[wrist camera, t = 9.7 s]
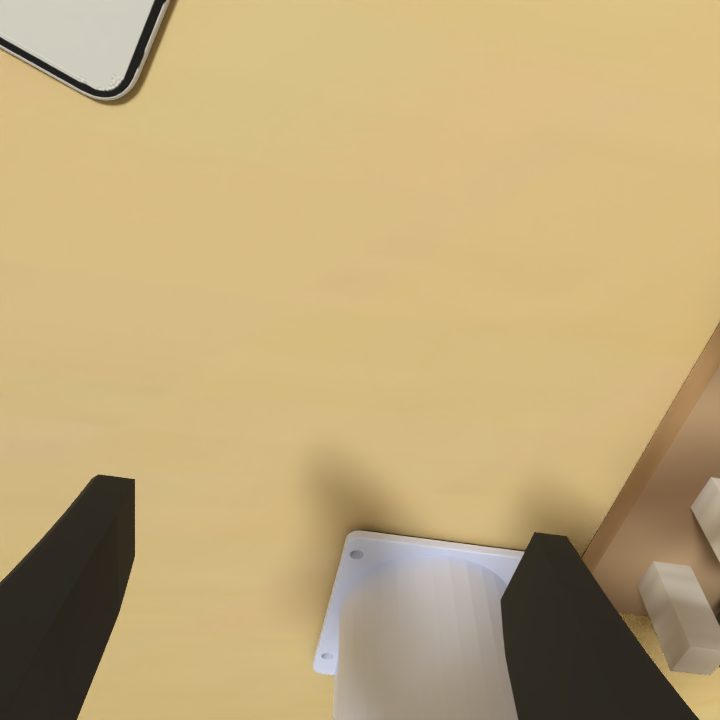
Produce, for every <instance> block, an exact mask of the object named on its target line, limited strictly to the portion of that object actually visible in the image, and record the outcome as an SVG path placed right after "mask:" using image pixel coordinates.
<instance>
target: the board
mask: <svg viewBox="0 0 720 720" xmlns="http://www.w3.org/2000/svg"><path fill="white" fill-rule="evenodd" d="M582 560H583V562H584V563H585V565H586V566H587V568H588V569H589V571H590V572H591V574H592V575H593V577H594V578H595V580H596V581H597V583H598V584H599V586H600V587H601V588H602V590H603V591H604V593H605V594H606V596H607V597H608V599H609V600H610V602H611V603H612V605H613V606H614V608H615V609H616V610H617V612H622V613H630V614H638V615H647V616H649V617H650V620H651V622H652V625H653V628H654V630H655V633H656V635H657V638H658V640H659V643H660V645H661V648H662V650H663V653H664V655H665V658H666V660H667V663H668V665H669V668H670V670H671V671H676V672H685V673H694V674H703V675H711V674H712V673H713V672H714V671H715V670H716V669H717V668H718V667H719V665H720V626H719V624H718V622H717V620H716V618H715V617H716V615H717V614H718V613H719V612H720V323H719V325H718V327H717V328H716V330H715V332H714V333H713V335H712V337H711V339H710V340H709V342H708V344H707V345H706V347H705V349H704V350H703V352H702V354H701V356H700V357H699V359H698V361H697V362H696V364H695V366H694V368H693V369H692V371H691V373H690V374H689V376H688V378H687V379H686V381H685V383H684V385H683V386H682V388H681V390H680V391H679V393H678V395H677V397H676V398H675V400H674V402H673V403H672V405H671V407H670V408H669V410H668V412H667V414H666V415H665V417H664V419H663V420H662V422H661V424H660V426H659V427H658V429H657V431H656V432H655V434H654V436H653V437H652V439H651V441H650V443H649V444H648V446H647V448H646V449H645V451H644V453H643V455H642V456H641V458H640V460H639V461H638V463H637V465H636V466H635V468H634V470H633V472H632V473H631V475H630V477H629V478H628V480H627V482H626V484H625V485H624V487H623V489H622V490H621V492H620V494H619V495H618V497H617V499H616V501H615V502H614V504H613V506H612V507H611V509H610V511H609V513H608V514H607V516H606V518H605V519H604V521H603V523H602V524H601V526H600V528H599V530H598V531H597V533H596V535H595V536H594V538H593V540H592V542H591V543H590V545H589V547H588V548H587V550H586V552H585V553H584V555H583V557H582Z"/></svg>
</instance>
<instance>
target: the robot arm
mask: <svg viewBox="0 0 720 720" xmlns="http://www.w3.org/2000/svg"><path fill="white" fill-rule="evenodd" d="M357 550H358V551H357ZM134 557H135V479H129V478H121V477H114V476H106V475H97V476H95V477H94V478H92V479H91V480H90V482H89V483H88V484H87V486H86V487H85V488H84V490H83V491H82V492H81V493H80V495H79V496H78V497H77V498H76V499H75V501H74V502H73V503H72V504H71V506H70V507H69V508H68V509H67V510H66V512H65V513H64V514H63V515H62V516H61V517H60V519H59V520H58V521H57V522H56V523H55V524H54V525H53V527H52V528H51V529H50V530H49V531H48V532H47V533H46V535H45V536H44V537H43V538H42V539H41V540H40V541H39V542H38V543H37V544H36V545H35V547H34V548H33V549H32V550H31V551H30V552H29V553H28V554H27V555H26V556H25V557H24V558H23V559H22V560H21V562H20V563H19V564H18V565H17V566H16V567H15V568H14V569H13V570H12V571H11V572H10V573H9V574H8V575H7V576H6V577H5V578H4V579H3V580H2V581H1V582H0V720H77V718H78V715H79V713H80V710H81V708H82V705H83V703H84V700H85V698H86V695H87V693H88V690H89V688H90V685H91V683H92V680H93V678H94V675H95V673H96V670H97V668H98V665H99V663H100V660H101V658H102V655H103V653H104V650H105V647H106V645H107V642H108V640H109V637H110V635H111V632H112V630H113V627H114V625H115V622H116V619H117V617H118V614H119V611H120V608H121V604H122V601H123V597H124V594H125V590H126V587H127V583H128V579H129V576H130V572H131V568H132V564H133V561H134ZM313 669H314V670H315V671H316V672H317V673H320V674H328V675H334V704H333V720H699V719H698V718H697V716H696V715H695V714H694V713H693V712H692V710H691V709H690V708H689V707H688V705H687V704H686V703H685V702H684V700H683V699H682V698H681V697H680V695H679V694H678V693H677V692H676V690H675V689H674V688H673V686H672V685H671V684H670V683H669V681H668V680H667V679H666V678H665V676H664V675H663V674H662V673H661V671H660V670H659V669H658V667H657V666H656V665H655V663H654V662H653V661H652V659H651V658H650V657H649V655H648V654H647V653H646V651H645V650H644V648H643V647H642V646H641V644H640V643H639V641H638V640H637V639H636V637H635V636H634V634H633V633H632V632H631V630H630V629H629V628H628V626H627V625H626V623H625V622H624V620H623V619H622V618H621V616H620V615H619V613H618V612H617V610H616V609H615V608H614V606H613V605H612V603H611V602H610V600H609V599H608V597H607V596H606V594H605V593H604V591H603V590H602V588H601V587H600V586H599V584H598V583H597V581H596V580H595V578H594V577H593V575H592V574H591V572H590V571H589V569H588V568H587V566H586V565H585V563H584V562H583V560H582V559H581V557H580V556H579V554H578V553H577V551H576V550H575V548H574V547H573V545H572V544H571V543H570V541H569V540H568V538H567V537H566V536H559V535H551V534H544V533H536V532H535V533H534V535H533V537H532V539H531V541H530V543H529V545H528V547H527V549H526V550H525V552H524V551H516V550H509V549H501V548H493V547H485V546H478V545H470V544H462V543H454V542H447V541H439V540H431V539H423V538H416V537H408V536H400V535H392V534H385V533H377V532H369V531H361V530H359V531H353V532H351V533H350V534H348V536H347V537H346V540H345V544H344V548H343V552H342V555H341V559H340V563H339V566H338V570H337V574H336V578H335V581H334V585H333V589H332V592H331V596H330V600H329V603H328V607H327V611H326V615H325V618H324V622H323V626H322V629H321V633H320V637H319V641H318V644H317V648H316V652H315V655H314V659H313Z"/></svg>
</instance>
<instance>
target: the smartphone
mask: <svg viewBox="0 0 720 720" xmlns="http://www.w3.org/2000/svg"><path fill="white" fill-rule="evenodd" d="M170 1H171V0H0V48H2V49H3V50H5V51H7V52H9V53H10V54H12V55H14V56H16V57H18V58H19V59H21V60H23V61H25V62H27V63H28V64H30V65H32V66H34V67H36V68H37V69H39V70H41V71H43V72H45V73H46V74H48V75H50V76H52V77H53V78H55V79H57V80H59V81H61V82H62V83H64V84H66V85H68V86H70V87H71V88H73V89H75V90H77V91H79V92H81V93H83V94H85V95H87V96H89V97H91V98H94V99H98V100H115V99H118V98H120V97H122V96H124V95H125V94H127V93H128V92H129V91H130V90H131V89H132V88H133V87H134V85H135V84H136V82H137V81H138V79H139V77H140V74H141V72H142V70H143V67H144V65H145V62H146V60H147V57H148V55H149V52H150V50H151V47H152V44H153V42H154V40H155V37H156V35H157V33H158V30H159V27H160V25H161V23H162V20H163V18H164V15H165V13H166V10H167V8H168V5H169V3H170Z"/></svg>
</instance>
